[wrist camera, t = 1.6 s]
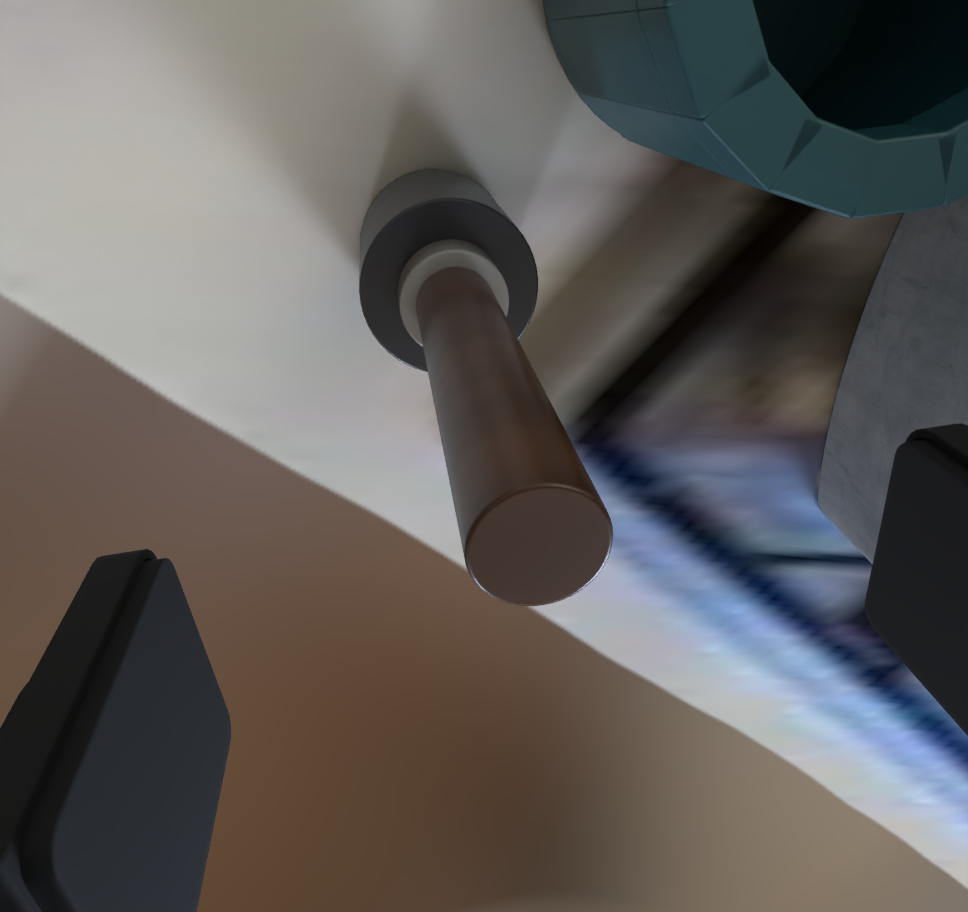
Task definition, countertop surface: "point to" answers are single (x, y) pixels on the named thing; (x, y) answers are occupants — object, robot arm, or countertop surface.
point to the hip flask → (899, 368)
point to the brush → (482, 383)
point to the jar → (785, 92)
